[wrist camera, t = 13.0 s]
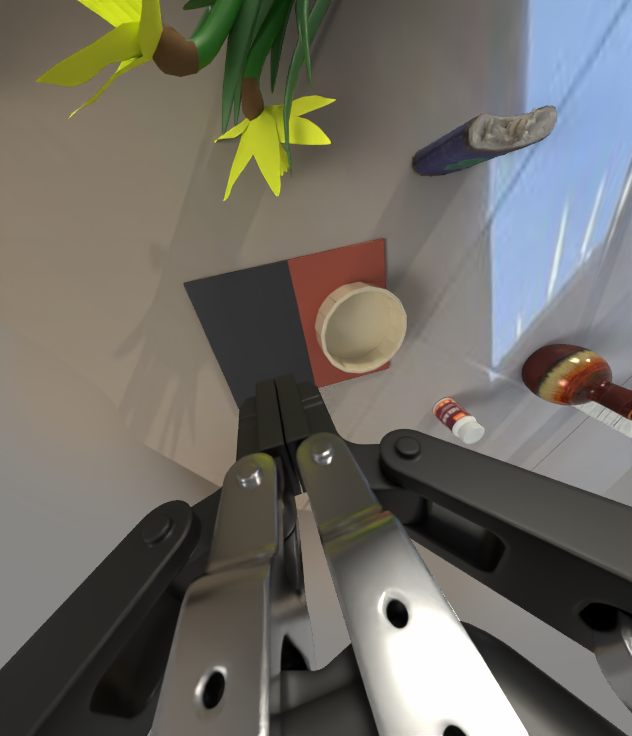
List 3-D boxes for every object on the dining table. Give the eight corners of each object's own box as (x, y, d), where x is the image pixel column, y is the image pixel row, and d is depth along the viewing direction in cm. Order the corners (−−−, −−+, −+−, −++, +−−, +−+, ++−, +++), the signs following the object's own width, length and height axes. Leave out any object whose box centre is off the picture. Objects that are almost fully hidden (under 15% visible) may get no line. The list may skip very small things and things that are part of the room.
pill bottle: (443, 393, 48) (477, 421, 40) (457, 402, 50) (491, 430, 42) (427, 411, 49) (456, 441, 42) (441, 419, 51) (471, 448, 44)
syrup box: (601, 385, 57) (697, 426, 45) (585, 405, 60) (672, 450, 47) (584, 385, 56) (678, 427, 43) (569, 406, 58) (653, 451, 46)
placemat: (239, 408, 40) (239, 409, 39) (184, 283, 30) (183, 283, 29) (387, 367, 42) (389, 368, 41) (382, 238, 32) (384, 238, 32)
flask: (482, 138, 29) (587, 91, 20) (478, 169, 30) (573, 139, 21) (411, 149, 28) (485, 105, 19) (410, 180, 29) (479, 154, 20)
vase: (574, 342, 48) (694, 381, 35) (540, 389, 53) (635, 439, 40) (536, 334, 45) (652, 373, 32) (503, 384, 50) (593, 437, 37)
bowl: (322, 367, 39) (329, 382, 35) (307, 292, 33) (314, 299, 29) (391, 349, 40) (406, 361, 36) (390, 273, 34) (407, 277, 30)
